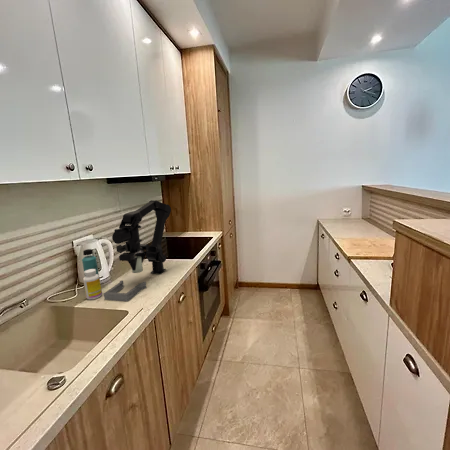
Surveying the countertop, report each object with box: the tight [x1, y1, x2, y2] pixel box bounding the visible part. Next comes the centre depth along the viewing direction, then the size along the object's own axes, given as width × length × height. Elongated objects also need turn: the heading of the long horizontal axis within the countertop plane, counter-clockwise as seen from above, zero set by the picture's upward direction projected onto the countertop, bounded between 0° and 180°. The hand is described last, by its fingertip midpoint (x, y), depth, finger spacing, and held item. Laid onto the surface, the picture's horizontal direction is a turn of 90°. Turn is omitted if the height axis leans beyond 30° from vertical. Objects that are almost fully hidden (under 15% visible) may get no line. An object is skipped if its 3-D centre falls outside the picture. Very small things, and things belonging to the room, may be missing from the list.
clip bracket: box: [103, 279, 147, 302], centre depth 122 cm, size 14×14×3 cm
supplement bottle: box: [82, 269, 103, 300], centre depth 119 cm, size 7×7×13 cm
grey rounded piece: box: [131, 256, 144, 274], centre depth 131 cm, size 5×5×7 cm
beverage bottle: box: [81, 248, 100, 278], centre depth 128 cm, size 6×7×20 cm
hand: (137, 268), depth 132 cm, fingers closed on grey rounded piece, 5 cm apart
